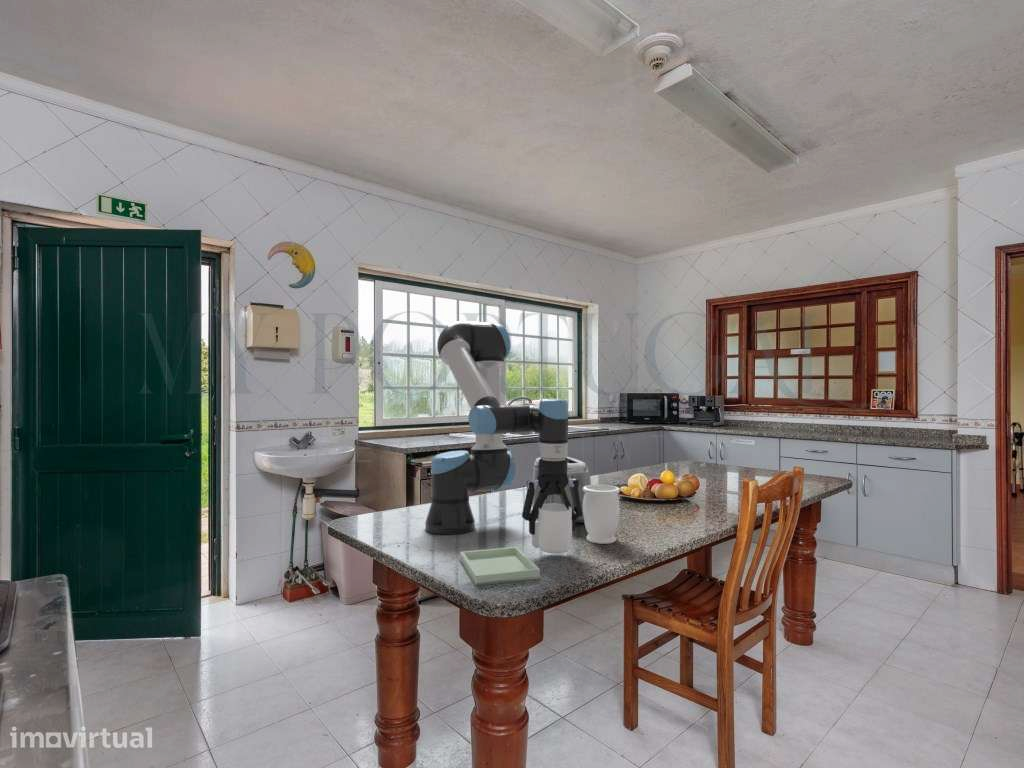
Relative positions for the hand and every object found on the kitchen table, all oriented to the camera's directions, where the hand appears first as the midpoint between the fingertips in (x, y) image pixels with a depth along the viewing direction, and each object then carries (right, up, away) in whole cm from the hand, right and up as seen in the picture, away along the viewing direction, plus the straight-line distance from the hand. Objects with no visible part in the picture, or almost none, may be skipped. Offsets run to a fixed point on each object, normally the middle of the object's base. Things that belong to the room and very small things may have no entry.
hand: (552, 544), depth 141 cm
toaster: (+6, -3, +41) cm, 41 cm away
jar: (+15, -3, +13) cm, 20 cm away
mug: (0, -1, 0) cm, 1 cm away
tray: (-14, -3, -11) cm, 18 cm away
